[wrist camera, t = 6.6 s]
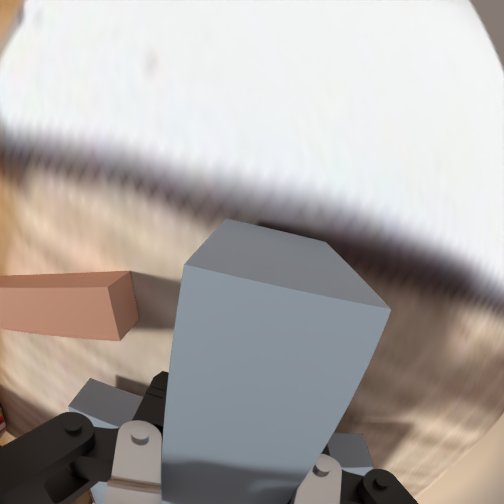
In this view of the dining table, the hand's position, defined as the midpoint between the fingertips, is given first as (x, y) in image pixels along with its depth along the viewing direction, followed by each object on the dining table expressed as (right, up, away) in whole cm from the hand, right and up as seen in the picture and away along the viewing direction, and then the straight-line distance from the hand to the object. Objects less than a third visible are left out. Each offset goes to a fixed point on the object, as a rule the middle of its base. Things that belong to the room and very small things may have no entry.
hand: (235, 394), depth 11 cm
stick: (-9, +4, +2) cm, 10 cm away
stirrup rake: (-1, -4, +2) cm, 5 cm away
